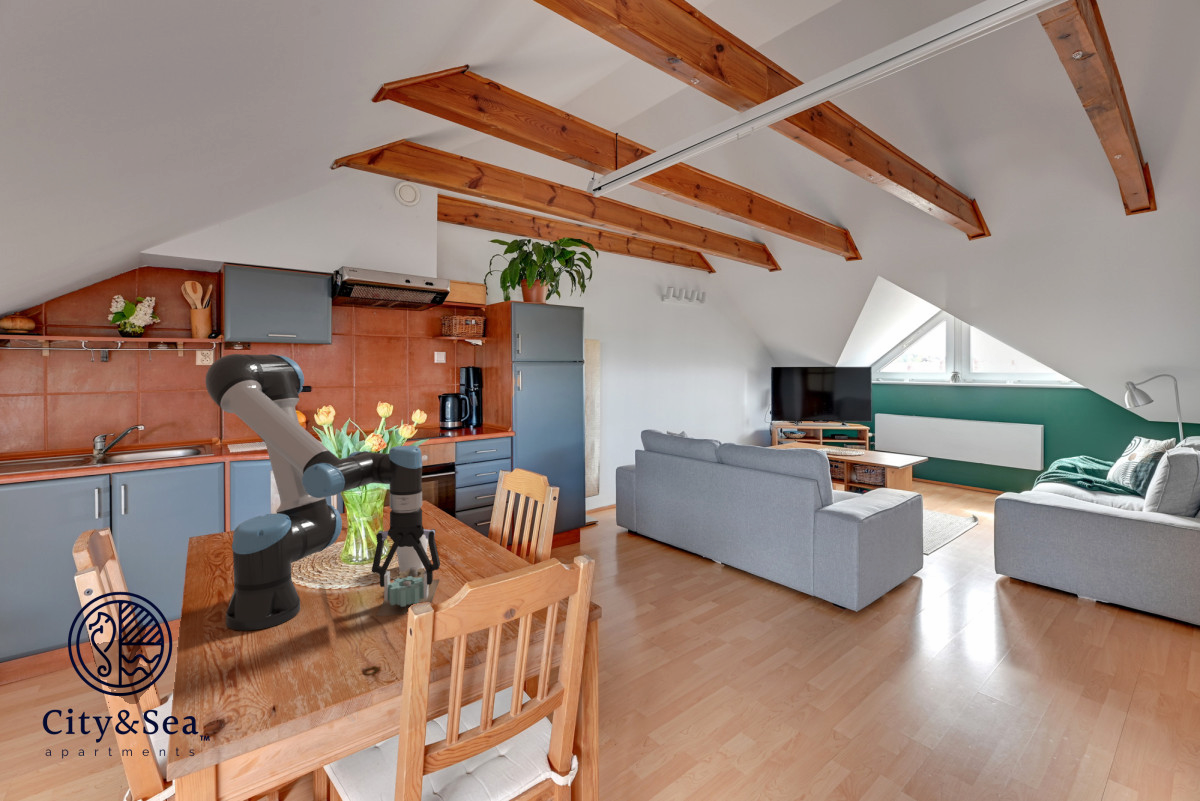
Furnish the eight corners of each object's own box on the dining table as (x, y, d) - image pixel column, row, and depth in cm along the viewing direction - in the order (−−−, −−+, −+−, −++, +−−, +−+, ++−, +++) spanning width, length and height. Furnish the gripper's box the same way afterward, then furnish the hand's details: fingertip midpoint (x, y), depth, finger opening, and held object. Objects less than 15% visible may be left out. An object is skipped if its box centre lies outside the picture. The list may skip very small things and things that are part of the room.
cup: (417, 580, 149) (417, 538, 149) (389, 577, 151) (388, 536, 150) (434, 568, 158) (433, 529, 157) (406, 565, 160) (406, 526, 159)
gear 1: (400, 598, 135) (399, 583, 135) (393, 586, 142) (393, 571, 142) (434, 591, 139) (434, 576, 139) (426, 579, 147) (425, 565, 146)
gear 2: (392, 592, 135) (392, 577, 135) (427, 590, 137) (427, 575, 136) (384, 607, 127) (384, 591, 127) (421, 605, 128) (421, 589, 128)
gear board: (376, 620, 126) (375, 593, 125) (394, 585, 145) (394, 562, 145) (428, 617, 128) (428, 590, 127) (439, 583, 147) (439, 560, 147)
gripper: (355, 514, 125) (357, 606, 126) (448, 511, 128) (448, 602, 130) (364, 505, 132) (365, 593, 134) (452, 503, 136) (452, 589, 137)
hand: (406, 597), depth 132 cm, fingers closed on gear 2, 9 cm apart
